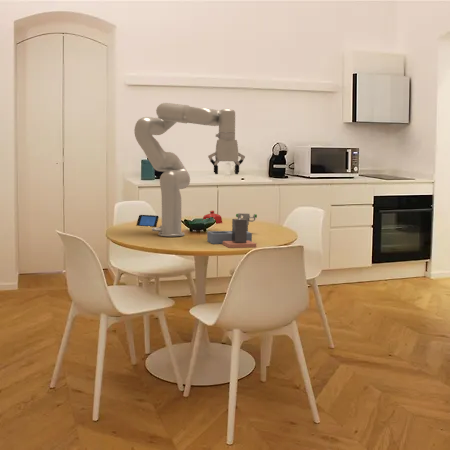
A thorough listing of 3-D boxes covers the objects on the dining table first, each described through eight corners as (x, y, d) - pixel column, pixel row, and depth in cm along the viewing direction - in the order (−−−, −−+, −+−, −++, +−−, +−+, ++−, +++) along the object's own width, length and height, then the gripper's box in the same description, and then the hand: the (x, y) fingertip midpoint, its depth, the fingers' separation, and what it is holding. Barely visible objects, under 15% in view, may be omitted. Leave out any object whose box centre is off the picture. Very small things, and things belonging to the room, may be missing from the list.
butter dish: (210, 227, 357) (210, 211, 356) (197, 225, 366) (197, 210, 365) (226, 226, 364) (226, 210, 363) (213, 224, 373) (214, 209, 372)
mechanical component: (255, 234, 325) (256, 214, 324) (235, 233, 327) (235, 213, 326) (256, 233, 328) (257, 213, 327) (236, 232, 330) (236, 213, 329)
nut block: (235, 243, 279) (235, 219, 278) (232, 241, 284) (232, 218, 283) (246, 242, 280) (246, 219, 279) (243, 241, 285) (243, 218, 284)
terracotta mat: (229, 247, 275) (229, 244, 275) (222, 244, 286) (222, 241, 286) (256, 247, 278) (256, 243, 278) (248, 243, 289) (248, 240, 289)
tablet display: (130, 229, 342) (130, 216, 341) (139, 227, 352) (139, 214, 351) (150, 230, 338) (150, 217, 337) (159, 228, 347) (159, 215, 347)
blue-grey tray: (212, 244, 287) (212, 233, 286) (207, 241, 296) (207, 231, 296) (251, 243, 291) (251, 233, 291) (245, 240, 301) (245, 230, 301)
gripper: (210, 136, 293) (210, 174, 295) (247, 136, 297) (246, 174, 299) (206, 136, 300) (206, 173, 302) (242, 137, 305) (242, 174, 306)
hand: (226, 174), depth 301 cm, fingers open, 9 cm apart
